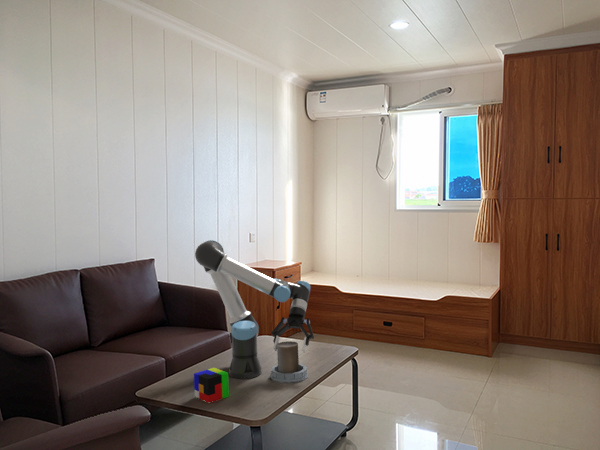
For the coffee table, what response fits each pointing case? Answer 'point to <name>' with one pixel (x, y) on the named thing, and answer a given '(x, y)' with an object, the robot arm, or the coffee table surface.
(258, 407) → the coffee table surface
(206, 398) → the puzzle toy
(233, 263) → the robot arm
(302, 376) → the candle dish
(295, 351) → the pillar candle
